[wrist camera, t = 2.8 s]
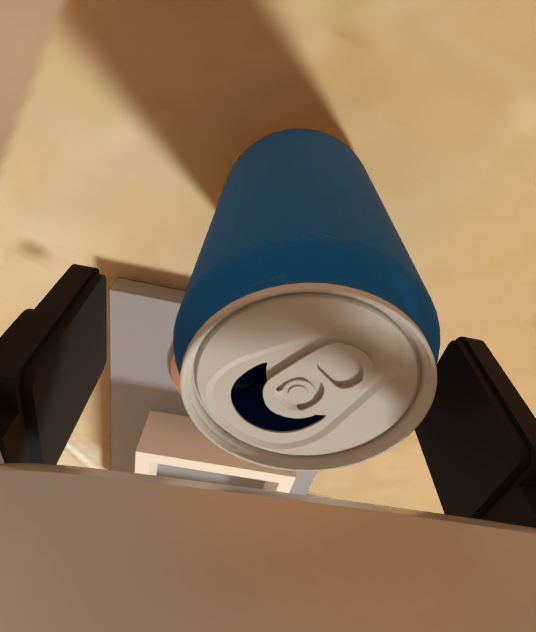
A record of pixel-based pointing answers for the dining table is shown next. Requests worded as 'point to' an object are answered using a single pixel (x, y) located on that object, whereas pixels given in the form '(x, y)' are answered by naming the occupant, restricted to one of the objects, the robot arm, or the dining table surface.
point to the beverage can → (305, 314)
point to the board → (166, 401)
